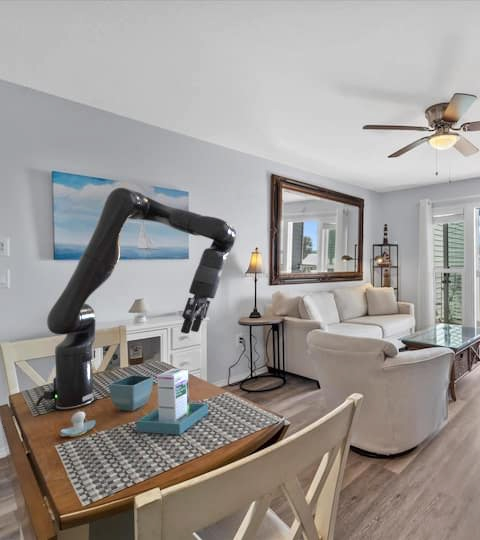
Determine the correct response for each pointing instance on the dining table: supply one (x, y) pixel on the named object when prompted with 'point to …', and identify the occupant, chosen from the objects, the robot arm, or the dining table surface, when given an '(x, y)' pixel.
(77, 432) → the pacifier
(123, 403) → the flower pot
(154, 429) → the tray
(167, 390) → the syrup box
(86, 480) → the dining table surface
